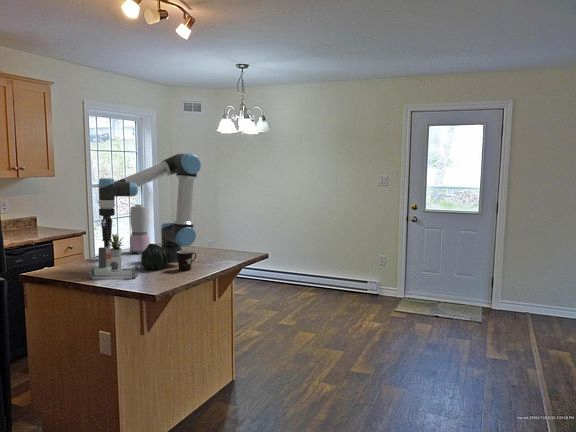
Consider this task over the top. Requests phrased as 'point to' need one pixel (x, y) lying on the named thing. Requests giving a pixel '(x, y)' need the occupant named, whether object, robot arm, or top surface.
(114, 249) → the house plant
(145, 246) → the blender
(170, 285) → the top surface
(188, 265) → the coffee mug
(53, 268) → the top surface
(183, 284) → the top surface
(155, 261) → the squash
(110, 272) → the rail base
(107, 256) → the button
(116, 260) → the gauge cabinet
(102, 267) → the carriage
